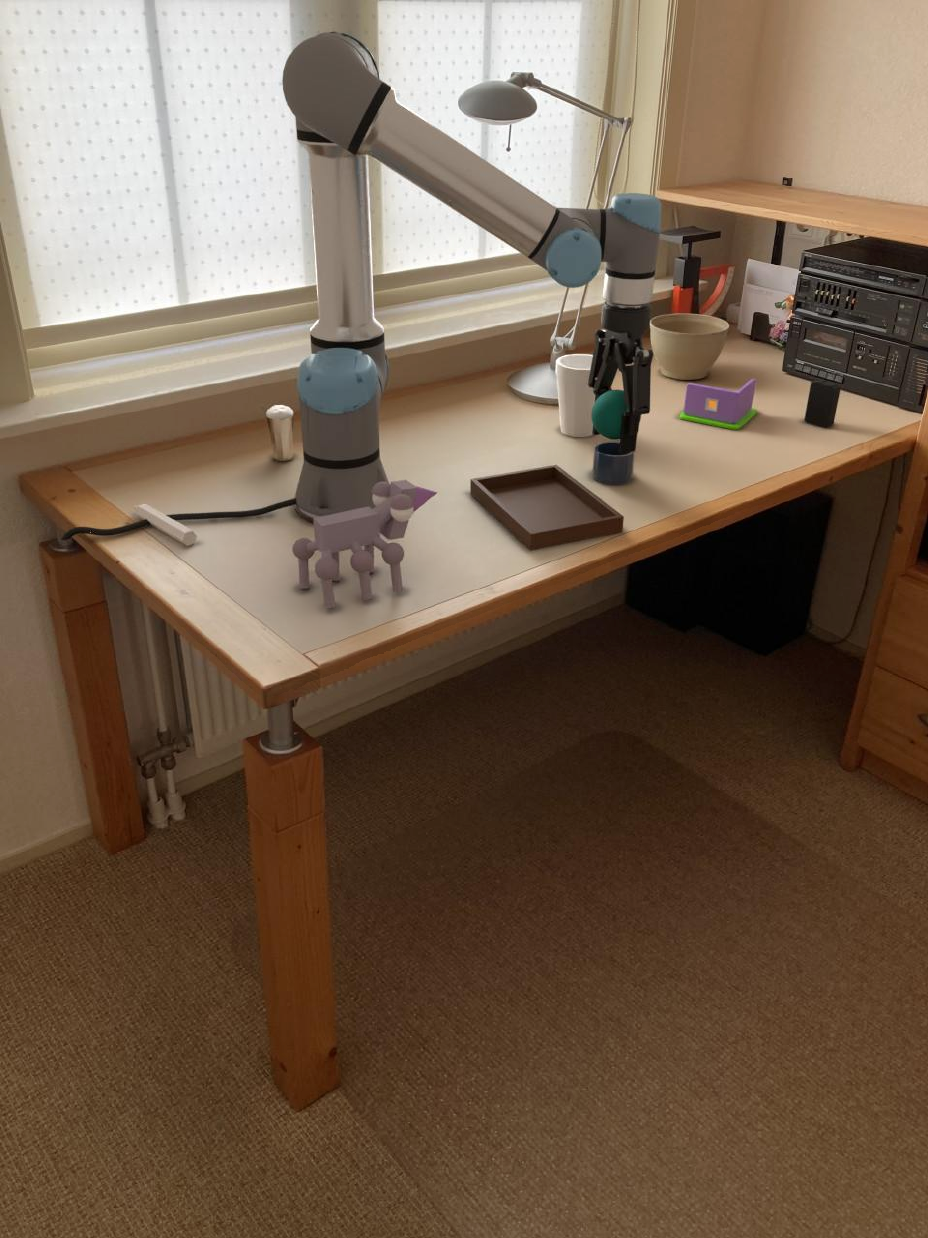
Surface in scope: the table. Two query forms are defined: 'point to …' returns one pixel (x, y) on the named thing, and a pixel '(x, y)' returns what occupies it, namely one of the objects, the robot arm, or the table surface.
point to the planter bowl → (687, 343)
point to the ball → (609, 414)
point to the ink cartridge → (822, 403)
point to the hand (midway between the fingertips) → (613, 442)
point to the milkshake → (281, 431)
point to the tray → (545, 506)
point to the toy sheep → (361, 537)
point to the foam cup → (575, 394)
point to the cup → (612, 464)
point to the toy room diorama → (719, 405)
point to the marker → (166, 524)
